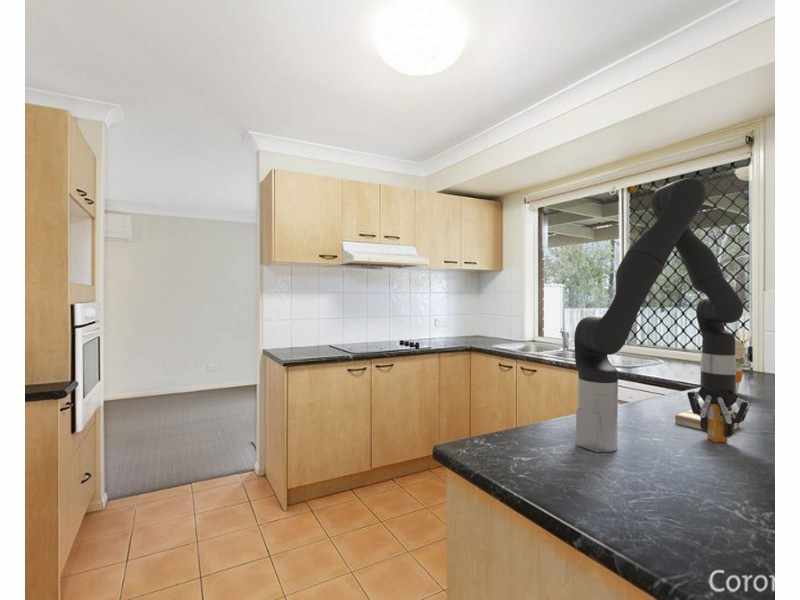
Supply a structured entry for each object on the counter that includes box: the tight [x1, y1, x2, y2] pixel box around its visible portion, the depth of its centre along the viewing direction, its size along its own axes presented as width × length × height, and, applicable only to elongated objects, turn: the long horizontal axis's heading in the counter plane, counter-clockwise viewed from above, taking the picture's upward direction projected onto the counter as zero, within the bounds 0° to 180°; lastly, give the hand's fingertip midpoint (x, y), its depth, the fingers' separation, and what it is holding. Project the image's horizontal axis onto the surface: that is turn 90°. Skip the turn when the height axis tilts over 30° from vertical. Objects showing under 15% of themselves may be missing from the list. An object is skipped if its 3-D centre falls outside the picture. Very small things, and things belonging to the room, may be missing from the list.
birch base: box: [674, 409, 740, 431], centre depth 123 cm, size 12×12×2 cm
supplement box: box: [706, 403, 728, 443], centre depth 110 cm, size 3×3×10 cm
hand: (717, 433), depth 110 cm, fingers closed on supplement box, 4 cm apart
